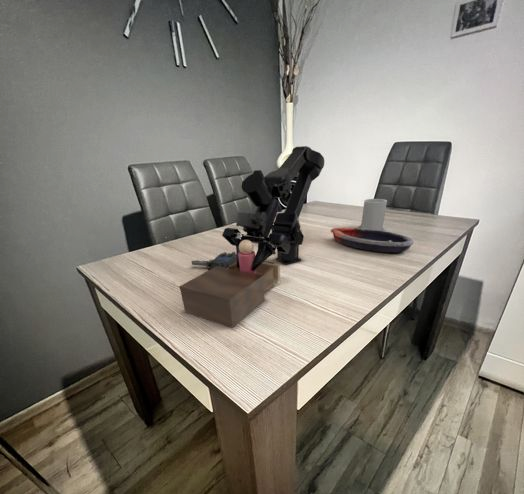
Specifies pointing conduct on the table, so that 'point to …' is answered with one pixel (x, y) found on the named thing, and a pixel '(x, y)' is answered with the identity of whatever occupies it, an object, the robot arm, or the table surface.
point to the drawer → (266, 273)
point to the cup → (373, 214)
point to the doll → (246, 256)
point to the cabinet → (223, 295)
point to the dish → (372, 239)
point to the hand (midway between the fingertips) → (244, 268)
